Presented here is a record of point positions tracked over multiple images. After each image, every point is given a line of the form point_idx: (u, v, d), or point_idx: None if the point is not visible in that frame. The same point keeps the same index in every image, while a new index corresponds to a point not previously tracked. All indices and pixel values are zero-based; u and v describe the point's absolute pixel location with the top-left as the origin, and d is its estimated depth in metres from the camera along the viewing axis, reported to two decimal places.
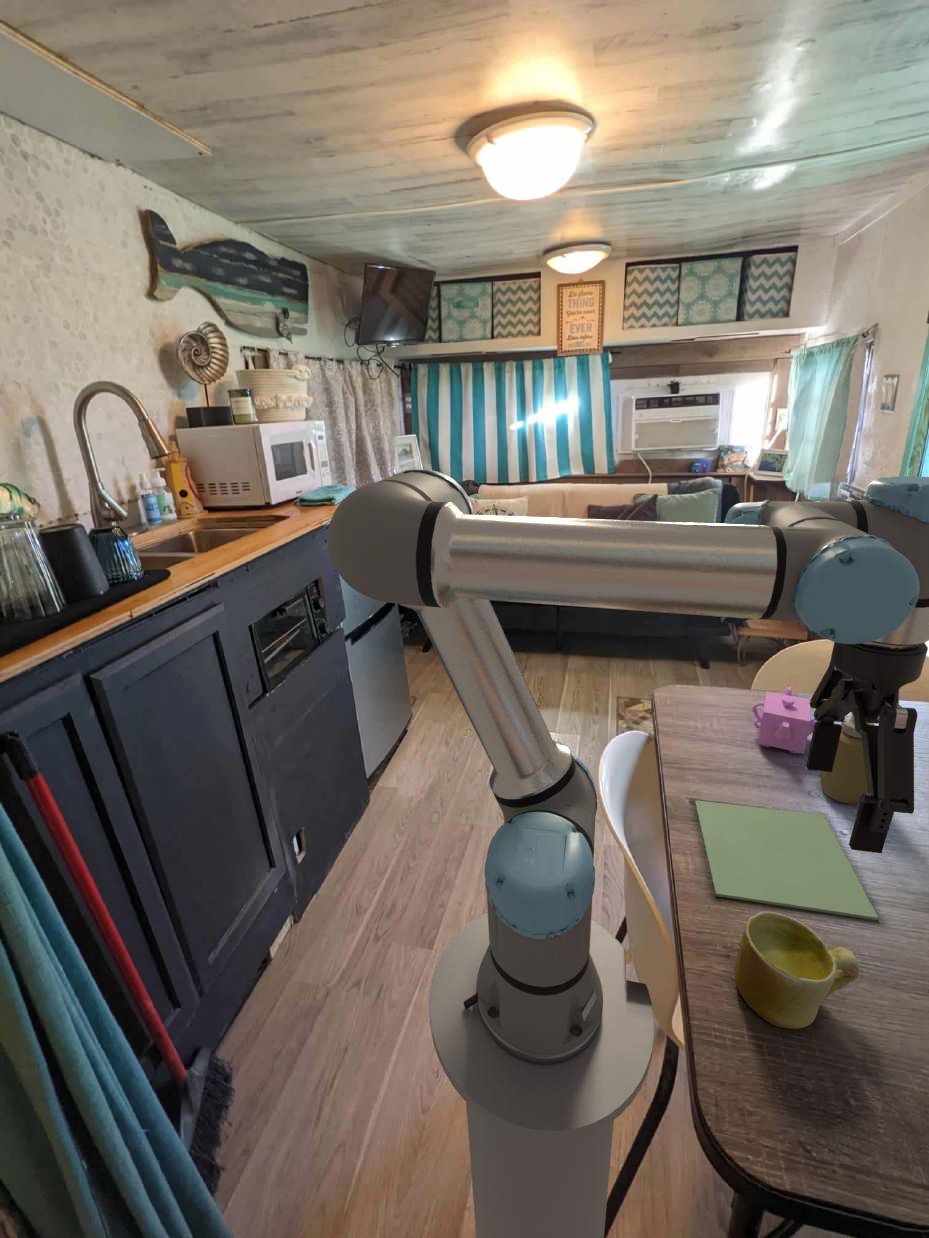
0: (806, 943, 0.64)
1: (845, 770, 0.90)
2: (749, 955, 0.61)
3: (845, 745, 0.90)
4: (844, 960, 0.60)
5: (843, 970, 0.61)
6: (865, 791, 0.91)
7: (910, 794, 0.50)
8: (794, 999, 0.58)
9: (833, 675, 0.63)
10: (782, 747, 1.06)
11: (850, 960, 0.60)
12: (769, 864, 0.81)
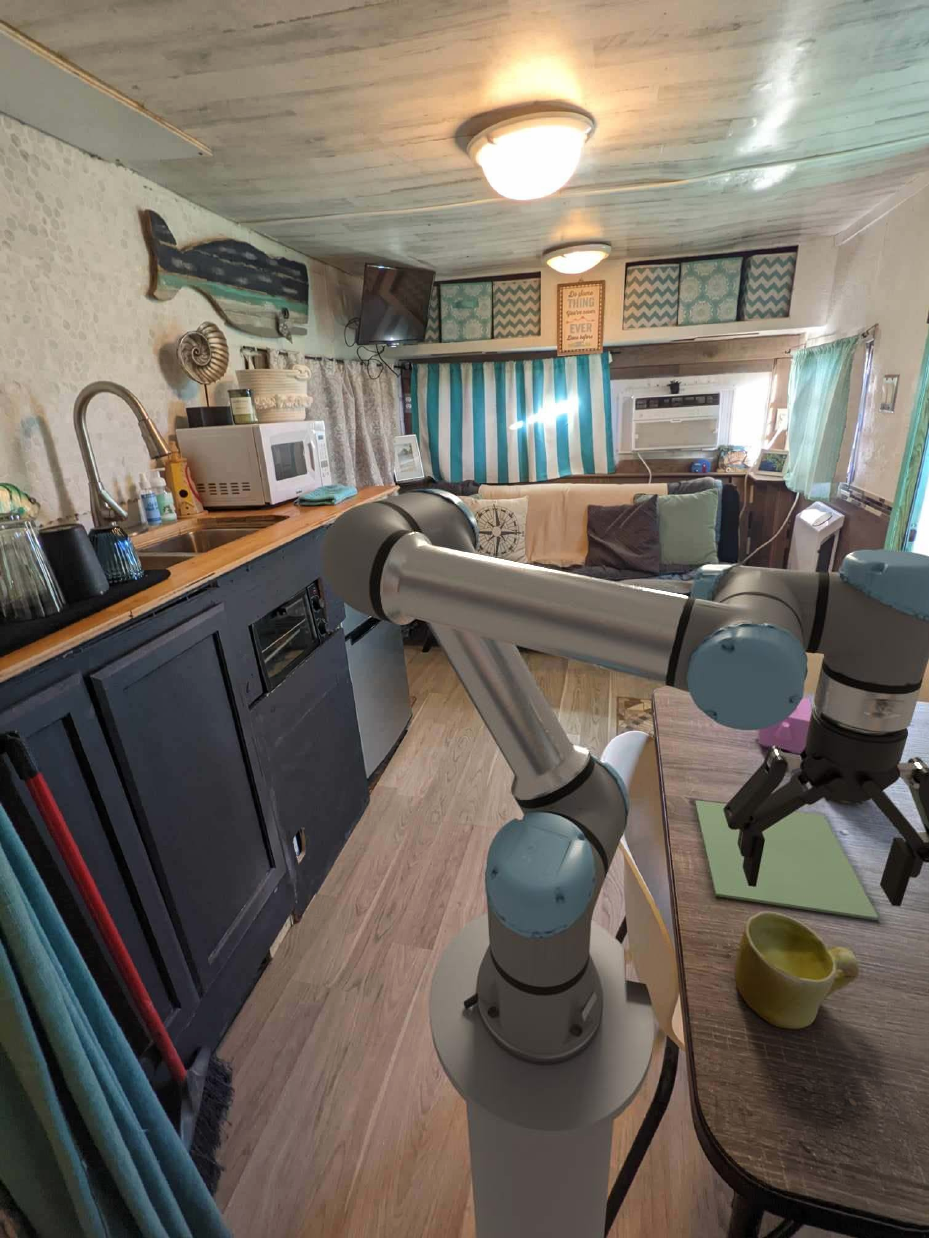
0: (806, 943, 0.64)
1: None
2: (749, 955, 0.61)
3: None
4: (844, 960, 0.60)
5: (843, 970, 0.61)
6: None
7: (735, 812, 0.57)
8: (794, 999, 0.58)
9: None
10: (782, 747, 1.06)
11: (850, 960, 0.60)
12: (769, 864, 0.81)
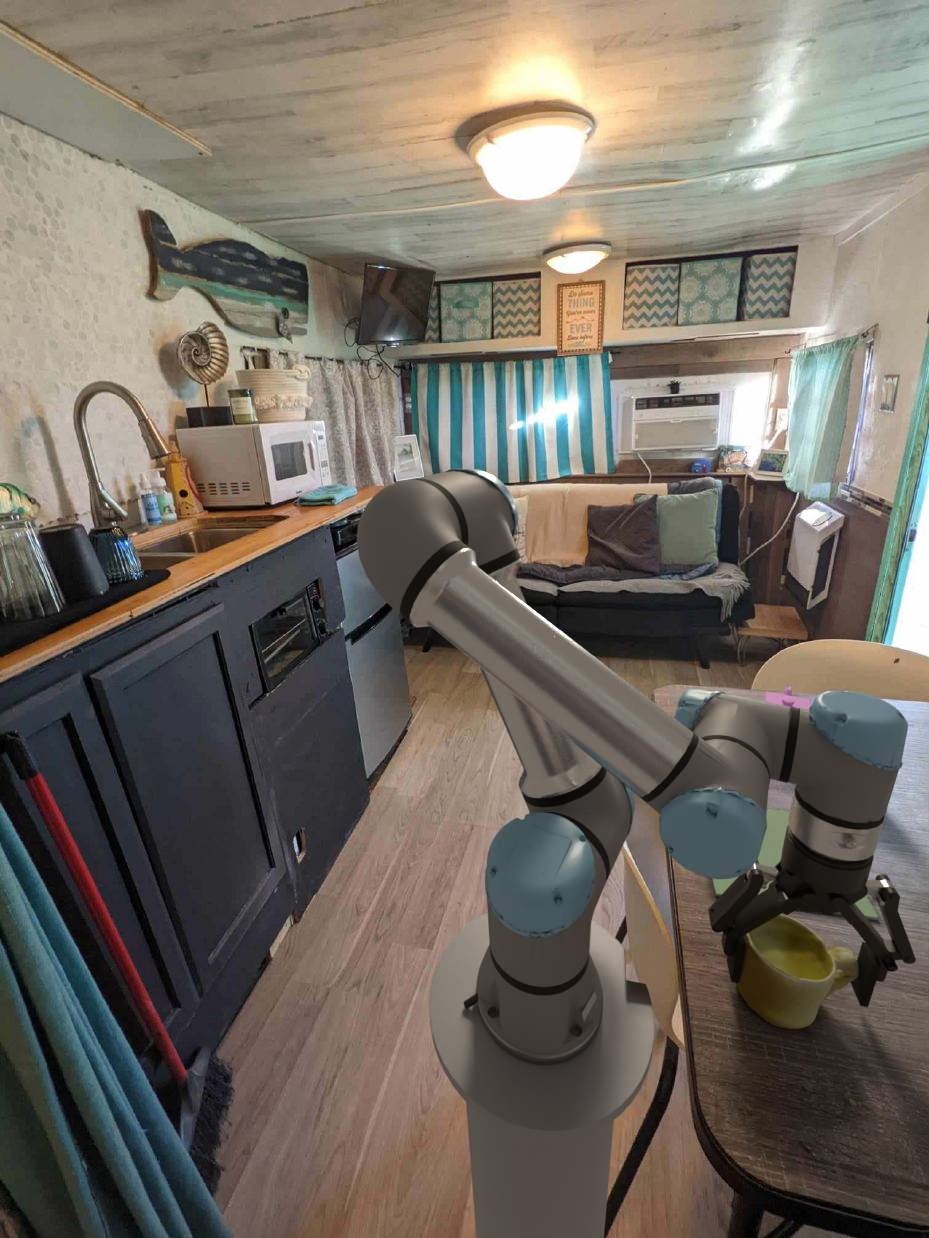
0: (806, 943, 0.64)
1: None
2: (749, 955, 0.61)
3: None
4: (844, 960, 0.60)
5: (843, 970, 0.61)
6: None
7: (718, 917, 0.61)
8: (794, 999, 0.58)
9: None
10: None
11: (850, 960, 0.60)
12: (769, 864, 0.81)
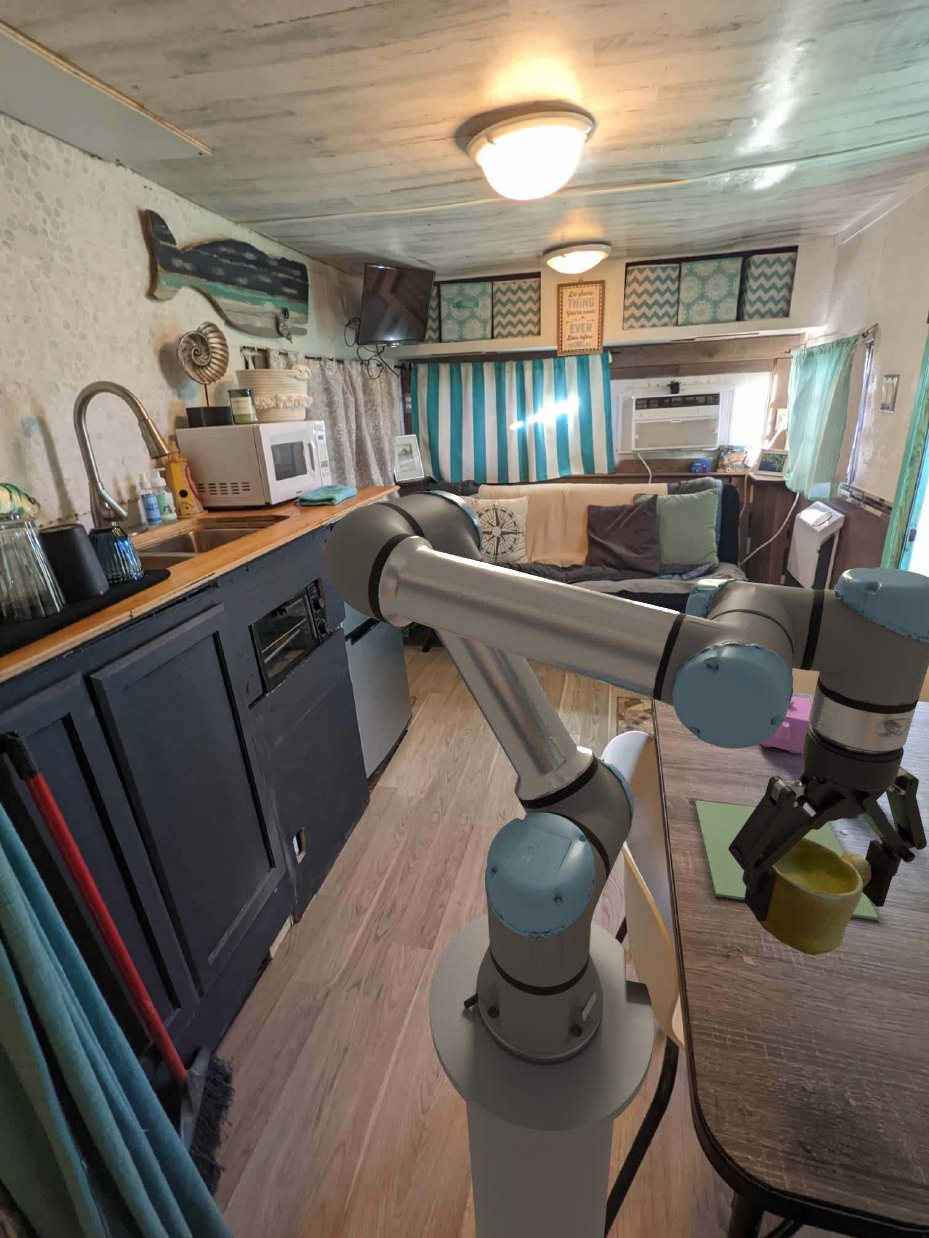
0: (816, 858, 0.60)
1: None
2: (778, 886, 0.55)
3: None
4: (859, 864, 0.57)
5: None
6: None
7: (747, 852, 0.54)
8: (833, 919, 0.53)
9: (887, 788, 0.55)
10: (782, 747, 1.06)
11: (864, 863, 0.57)
12: None
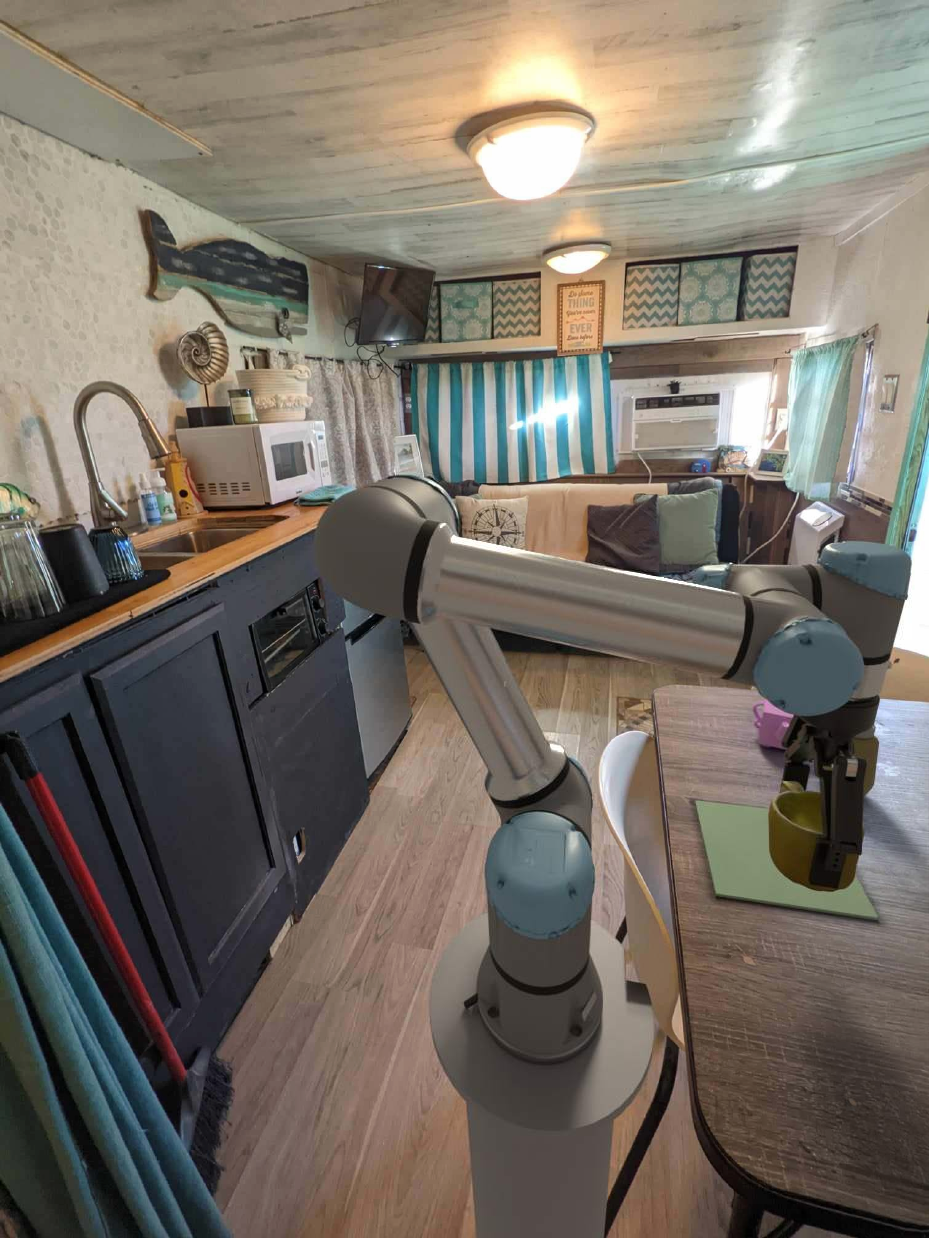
0: (785, 806, 0.67)
1: None
2: None
3: None
4: (801, 786, 0.69)
5: None
6: (865, 791, 0.91)
7: (859, 838, 0.55)
8: None
9: (800, 718, 0.67)
10: (782, 747, 1.06)
11: (798, 783, 0.69)
12: (769, 864, 0.81)
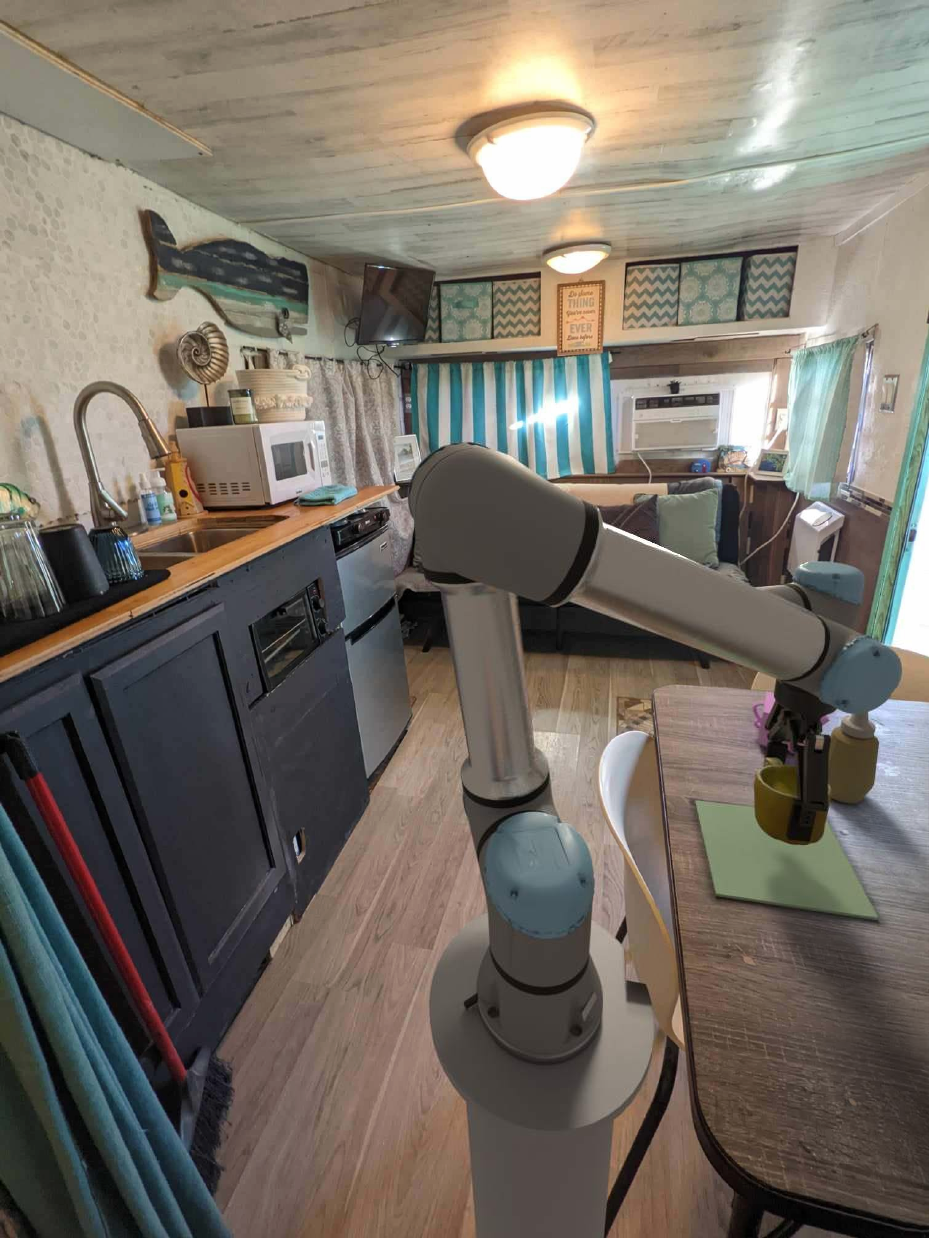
0: (768, 778, 0.81)
1: (845, 770, 0.90)
2: None
3: (845, 745, 0.90)
4: (781, 762, 0.83)
5: None
6: (865, 791, 0.91)
7: (825, 798, 0.69)
8: None
9: (779, 705, 0.81)
10: None
11: (778, 759, 0.83)
12: (769, 864, 0.81)
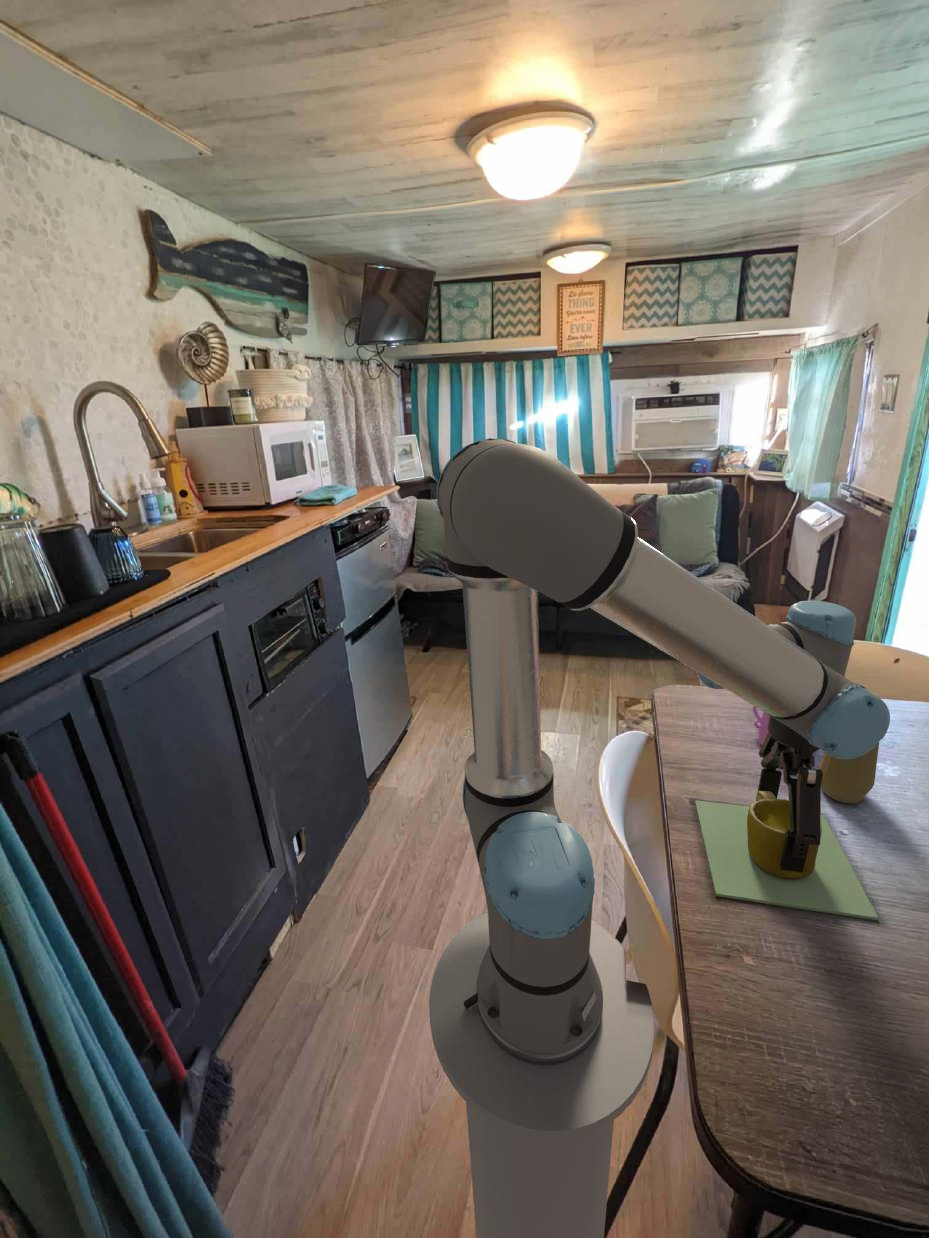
0: (760, 811, 0.83)
1: (845, 770, 0.90)
2: None
3: None
4: (773, 795, 0.85)
5: None
6: (865, 791, 0.91)
7: (817, 831, 0.70)
8: None
9: None
10: None
11: (771, 793, 0.86)
12: None
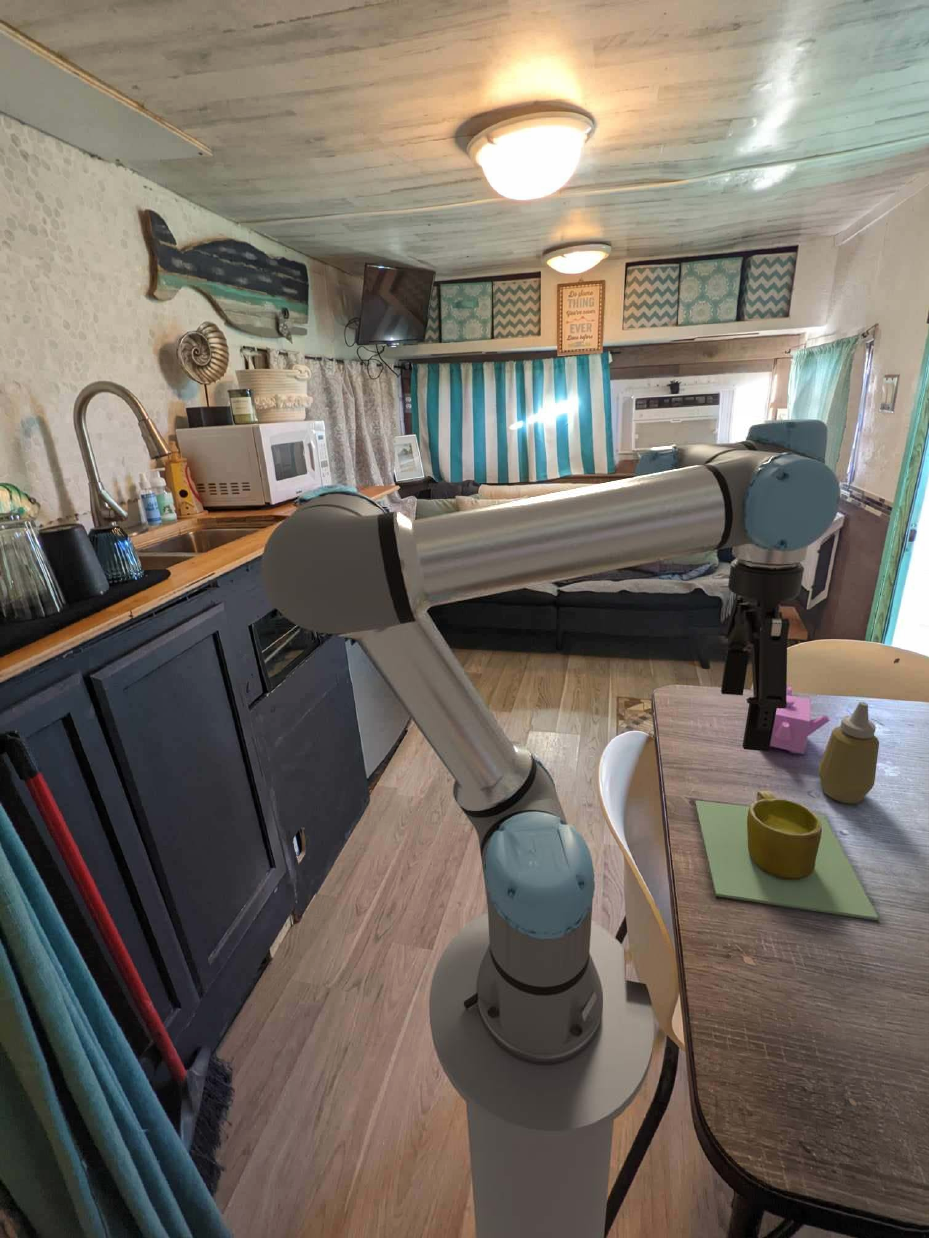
0: (760, 811, 0.83)
1: (845, 770, 0.90)
2: (805, 843, 0.76)
3: (845, 745, 0.90)
4: (773, 795, 0.85)
5: None
6: (865, 791, 0.91)
7: (783, 691, 0.59)
8: None
9: (738, 605, 0.72)
10: (782, 747, 1.06)
11: (771, 793, 0.86)
12: None
